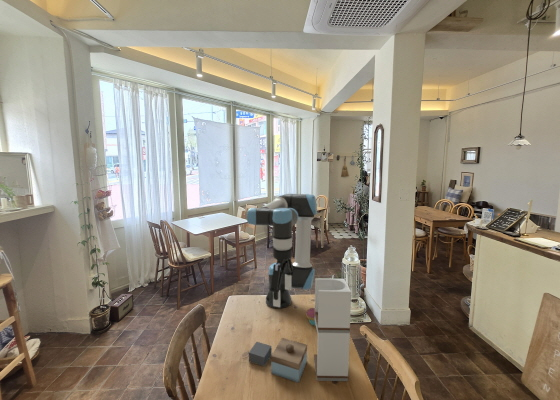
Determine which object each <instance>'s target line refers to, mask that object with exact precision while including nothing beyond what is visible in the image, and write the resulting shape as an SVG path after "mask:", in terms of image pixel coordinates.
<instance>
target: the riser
mask: <svg viewBox="0 0 560 400" xmlns="http://www.w3.org/2000/svg"><path fill="white" fill-rule="evenodd" d="M271 355H272V345H270V344H266V343H264V342H263V343H262V342H260V341H256V342H255V343H254V344H253V346H252V348H250V350H249V352H248V362H249V363H252V364H255V365H259V366H262V367H265V366H266V364H267V363H268V361H269V360H270V358H271Z"/></svg>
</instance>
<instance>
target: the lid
mask: <svg viewBox="0 0 560 400" xmlns="http://www.w3.org/2000/svg"><path fill="white" fill-rule="evenodd" d="M306 352H307V353H308V344H306V343H303V342H299V341H295V340H291V339H287V338H284V337H281V339H280V341H279V342H278V344H277V345H276V347H275V349H274V350H273V352H272V353H271V356H270V358H271V359H270V361H271V362H275V363H278V364H281V365H284V366H287V367H290V368H293V369H297V370H299V369H300V366H301V364H302V361H303V359H304V356H305V354H306ZM271 362H270V363H271Z"/></svg>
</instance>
